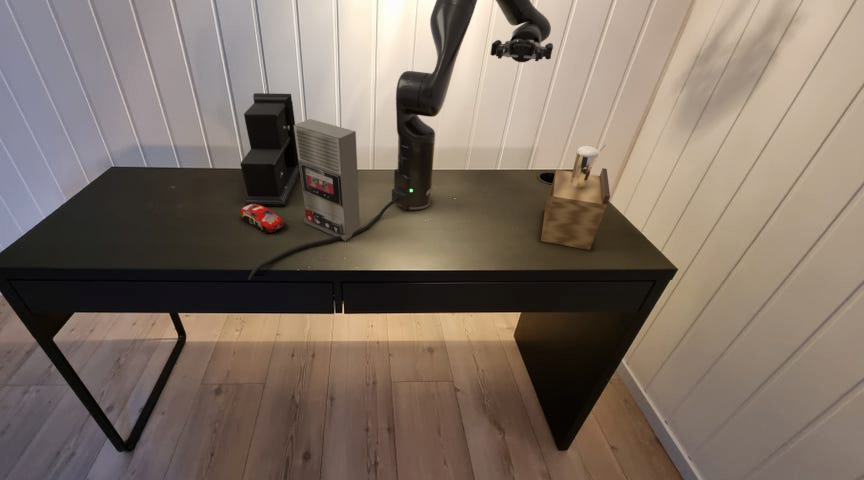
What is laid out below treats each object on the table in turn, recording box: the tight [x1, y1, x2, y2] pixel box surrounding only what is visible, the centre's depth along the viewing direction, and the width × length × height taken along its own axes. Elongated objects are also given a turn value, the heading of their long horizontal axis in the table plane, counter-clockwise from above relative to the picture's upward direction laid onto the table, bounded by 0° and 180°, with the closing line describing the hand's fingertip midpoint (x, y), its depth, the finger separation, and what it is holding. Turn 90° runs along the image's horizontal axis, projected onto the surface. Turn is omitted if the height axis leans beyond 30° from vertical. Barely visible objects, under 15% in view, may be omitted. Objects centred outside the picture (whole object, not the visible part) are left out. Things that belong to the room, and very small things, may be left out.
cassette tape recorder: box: [294, 118, 362, 242], centre depth 95 cm, size 14×6×25 cm, turn 53°
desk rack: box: [540, 167, 611, 251], centre depth 98 cm, size 11×15×14 cm
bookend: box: [239, 92, 300, 207], centre depth 113 cm, size 23×11×24 cm, turn 178°
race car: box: [241, 204, 285, 234], centre depth 103 cm, size 13×5×4 cm, turn 49°
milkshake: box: [570, 144, 607, 188], centre depth 92 cm, size 4×5×10 cm
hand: (518, 55), depth 95 cm, fingers open, 8 cm apart
